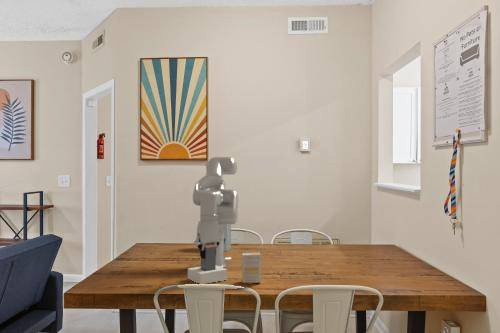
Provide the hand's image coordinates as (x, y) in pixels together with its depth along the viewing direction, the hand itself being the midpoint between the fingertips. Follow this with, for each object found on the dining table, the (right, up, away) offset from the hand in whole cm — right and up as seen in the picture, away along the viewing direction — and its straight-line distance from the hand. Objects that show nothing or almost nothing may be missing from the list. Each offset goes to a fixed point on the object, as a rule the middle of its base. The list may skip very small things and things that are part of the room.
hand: (208, 257), depth 187 cm
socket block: (0, -10, -1) cm, 10 cm away
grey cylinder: (0, -6, 0) cm, 6 cm away
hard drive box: (-1, -11, +70) cm, 71 cm away
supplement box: (+20, -11, -4) cm, 23 cm away
